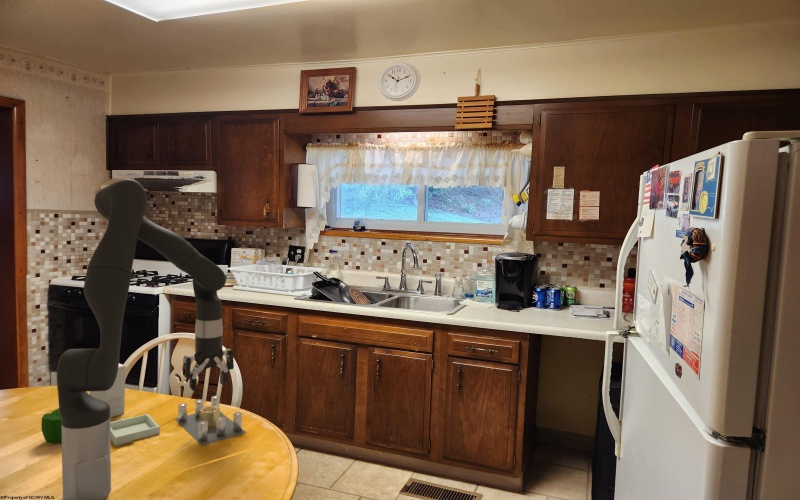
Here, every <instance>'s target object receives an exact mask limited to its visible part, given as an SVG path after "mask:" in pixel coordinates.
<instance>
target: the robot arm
mask: <svg viewBox="0 0 800 500" xmlns="http://www.w3.org/2000/svg"><path fill="white" fill-rule="evenodd" d="M93 202H94V206H95V208H96V210H97V212H98V213H99V214H100V215H101V217H103V218H104V219H106V220H107V221H108V223H107V228H106V230H105V232H104V234H103V236H102V238H101V239H100V241H99V243H98V245H97V247H96V248H95V250H94V252H93V254H92V256H91V257H90V260H89V263H88V265H87V269H86V274H85V277H84V278H85V279H84V284H83V294H84V298H85V300H86V303H87V304H88V306H89V308H90V309H91V311H92V313H93V315H94V318H95V319H96V322H97V324H98V326H99V327H98V328H99V330H100V332H99V333H100V344H99V348H70V349H67V350H65V351H64V352H63V353H62V354H61V356H60V357H59V359H58V363H57V367H56V387H57V396H58V397H57V398H58V408H59V413H60V416H61V421H62V443H61V456H62V457H61V470H62V471H61V473H62V475H61V476H62V478H61V479H62V500H104V499H107V498H108V497H109V496H108V495H109V494H110V492H111V491H112V490H111V489H112V466H111V465H112V464H111V463H112V461H111V457H112V456H111V454H112V453H111V451H112V450H111V442H112V441H111V439H110V422H111V418H110V406H109V404H108V403H107V402H105V401H103V400H100V399H97V398H94V397H92V396H91V395H90V393H88V392H90V391H106V390H109V389H110V388H111V387H112V386H113V384H114V382H115V380H116V377H117V372H118V366H119V364H120V353H121V342H122V334H123V333H122V332H123V331H122V330H123V324H124V323H123V322H124V315H125V312H126V311H125V310H126V305H127V300H128V295H129V290H130V286H131V280H132V273H133V264H134V259H135V253H136V248H137V242H138V240H140V241H142V242H143V243H144V244H146V245H148V246H149V247H151V248H152V249H154V250H155V251H157V252H158V253H159V255H162V256H163V257H164V258H165V259H166V260H167V261H169V263H172V265H173V266H175V268H177V269H179V270H180V271H181V272H184V273H186V274H188V275H189V276H190V277H191V278H192V287H193V294H194V299H195V302H196V303H195V305H196V307H195V308H196V310H195V315H196V316H195V318H196V319H195V327H194V340H195V341H194V344H195V346H194V351H195V352H194V355H189V356H188V355H184V356H183V361H182V362H183V363H182V376H183V377H184V378H186V379H188V380H189V389H191V391H192V392H197V391H198V389H197V388H198V386H197V385H198V381H197V380H198V379H197V377H198V375H199V374H201V373H202V371H203V369H204V370H208V369H210V368H216V367H217V368H219V369H220V372H219V384H221V385H222V386H225V385H226V383H227V382H228V372H229V371H231V370H233V369H234V367H235V364H234V362H235V361H234V350H233V349H230V348H226V349H225V350H223V347H224V346H223V340H224V339H223V337H224V335H223V333H224V330H223V329H224V326H223V325H224V323H223V304H222V300H221V299H220V298H219V296H218V291H220V290H222V289H223V288H224V287H225V286H226V281H227V278H226V274H225V272H224V271H223V269H222V268H221V267H220V266H218V265H217V264H215V262H213V261H212V260H210V259H209V258H207V257H206V256H204V255H202V254H201V253H200V252H199V251H198V250H197V249H196V248H195V247H194V246H193V245H192V244H191V243H190V242H189V241H187V240H186V239H185V238H184V237H182V236H181V235H179V234H178V233H176V232H174V231H171V230H169V229H168V228H165V227H163V226H161V225H159V224H157V223H154V222H153V221H152V220H149V218H147V217H145V212H146V208H147V205H148V204H147V203H148V198H147V193H146V190H145V188H144V186H143V185H142V184H141V183H140V182H139V181H137V180H135V179H132V178H124V179H123V178H122V179H120V180H117V181H114V182H113V183H111V184H109V185H106V186H105V187H103V188H101V189H100V190H99V191H97V193H96V194H95V195H94V201H93ZM223 357H225V363H226V364H224V363H223V362H222V359H223ZM194 361H195V364H194V365H193V366H192V369H191V365H192V364H193V362H194Z"/></svg>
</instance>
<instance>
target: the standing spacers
mask: <svg viewBox="0 0 800 500" xmlns="http://www.w3.org/2000/svg"><path fill="white" fill-rule="evenodd" d="M210 401H211V402H210V406H217V407H218V408H220V396H219V395H213V396H211V400H210ZM204 402H205V401H204V399H202V398H201V399H200V398H199V399H195V401H194V414H195V418H199V410H200V409H201V408H203V407H205V406H204V404H205V403H204ZM177 407H178V408H177V414H178V415H177V418H178V422H186V421H187V415H188V404H187V402H181V403H179V404H178V406H177ZM232 416H233V420H232V421H233V431H234V432H240V431H242V429H243V413H242V412H241V411H235V412H233V414H232ZM178 422H177V423H178ZM216 436H217V437H223V436H225V417H223V416H220V417H217V418H216ZM207 440H208V422H207V421H201V422H199V440H198V441H199V442H205V441H207Z"/></svg>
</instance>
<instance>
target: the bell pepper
mask: <svg viewBox="0 0 800 500" xmlns="http://www.w3.org/2000/svg"><path fill="white" fill-rule="evenodd" d="M40 422H41V424H40V425H41V432H42V435H43V438H44V440H45V442H46V443H47V444H50V445H56V444H62V421H61V416H60V413H59V407H58V408H56V409H55V410H53V411H51V412H49V413H45V414H43V415H42V417H41V421H40Z"/></svg>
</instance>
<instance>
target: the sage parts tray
mask: <svg viewBox="0 0 800 500" xmlns="http://www.w3.org/2000/svg"><path fill="white" fill-rule="evenodd" d="M160 429H161V427H160V425H159V424H158V423H157V421H155V420H154V418H152V417H151V415H150V414H149V413H145V414H141V415H136V416H132V417H128V418H123V419H122V418H121V419H119V420H118V419H117V420H114V421H110V441H111V442H112V444H113V445H114V446H115V447H119V446H122V445H127V444H131V443H134V441H137V440H141V439H143V438H148V437H152V436H155V435H160V434H161V433H160V432H161V430H160Z"/></svg>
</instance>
